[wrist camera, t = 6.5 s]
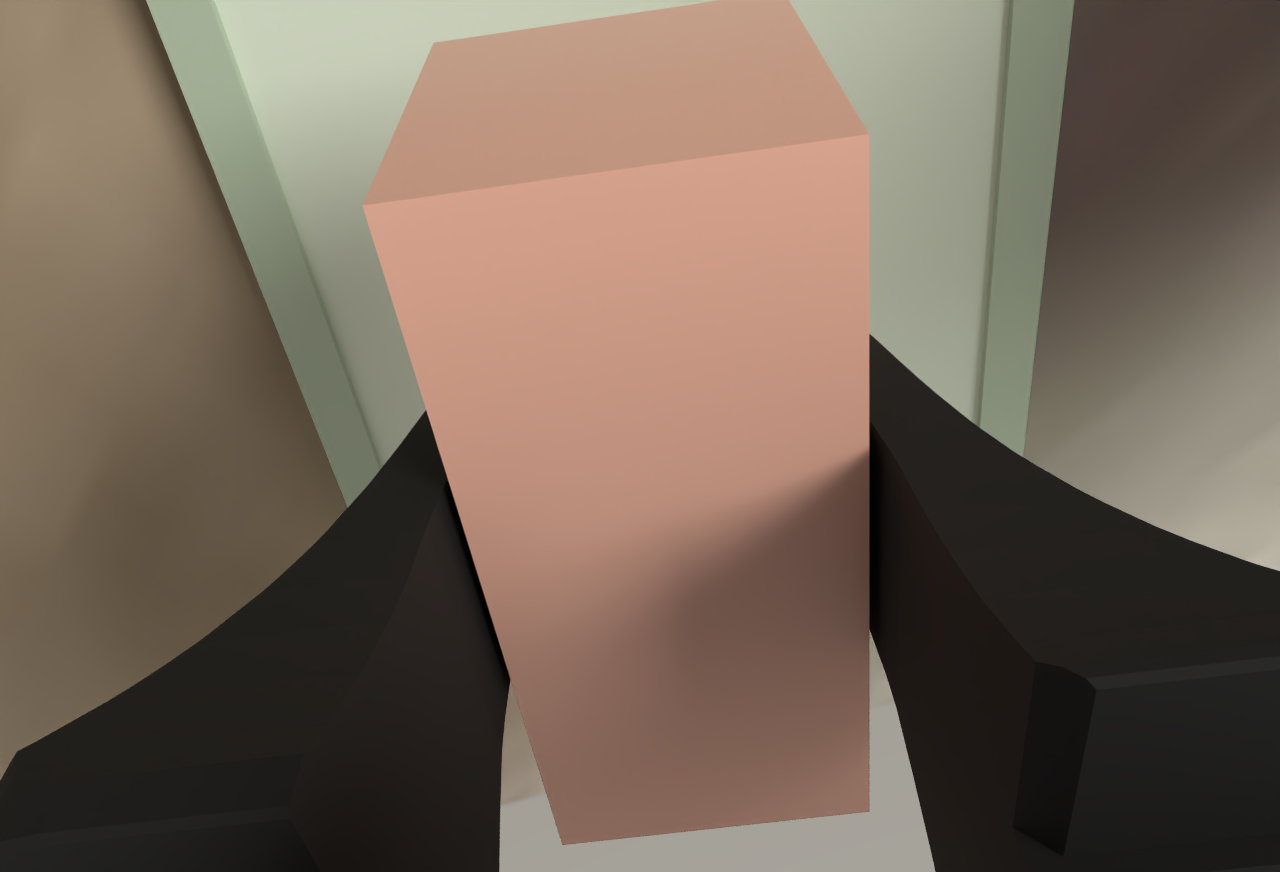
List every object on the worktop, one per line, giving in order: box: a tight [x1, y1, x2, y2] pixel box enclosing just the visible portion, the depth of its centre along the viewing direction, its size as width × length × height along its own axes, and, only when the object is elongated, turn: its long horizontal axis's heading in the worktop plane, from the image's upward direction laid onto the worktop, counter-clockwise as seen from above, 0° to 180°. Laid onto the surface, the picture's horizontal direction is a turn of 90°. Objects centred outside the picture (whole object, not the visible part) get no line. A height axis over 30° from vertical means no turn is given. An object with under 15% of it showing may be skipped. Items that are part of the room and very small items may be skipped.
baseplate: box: [146, 0, 1074, 508], centre depth 19 cm, size 15×16×1 cm
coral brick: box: [362, 0, 869, 845], centre depth 13 cm, size 4×9×4 cm, turn 7°
